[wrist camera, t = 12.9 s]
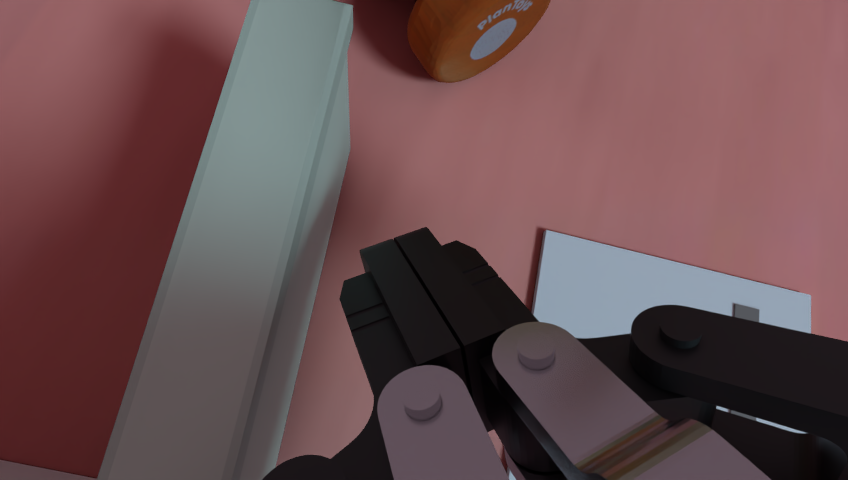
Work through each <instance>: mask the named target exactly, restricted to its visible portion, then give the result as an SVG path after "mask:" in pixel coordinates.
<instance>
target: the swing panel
mask: <svg viewBox="0 0 848 480" xmlns="http://www.w3.org/2000/svg"><path fill="white" fill-rule="evenodd" d="M352 31H353V5H349V4H345V3H341V2H337V1H333V0H251V2H250V5H249V8H248V11H247V15H246V18H245V21H244V24H243V27H242V30H241V33H240V36H239V39H238V43H237V46H236V49H235V52H234V55H233V58H232V61H231V64H230V67H229V70H228V74H227V77H226V80H225V83H224V86H223V89H222V92H221V95H220V98H219V102H218V105H217V108H216V111H215V114H214V117H213V120H212V123H211V126H210V129H209V133H208V136H207V139H206V142H205V145H204V148H203V151H202V154H201V157H200V161H199V164H198V167H197V170H196V173H195V176H194V179H193V182H192V185H191V189H190V192H189V195H188V198H187V201H186V204H185V207H184V210H183V213H182V216H181V220H180V223H179V226H178V229H177V232H176V235H175V238H174V241H173V244H172V248H171V251H170V254H169V257H168V260H167V263H166V266H165V269H164V272H163V275H162V279H161V282H160V285H159V288H158V291H157V294H156V297H155V300H154V303H153V307H152V310H151V313H150V316H149V319H148V322H147V325H146V328H145V331H144V334H143V338H142V341H141V344H140V347H139V350H138V353H137V356H136V359H135V362H134V366H133V369H132V372H131V375H130V378H129V381H128V384H127V387H126V390H125V394H124V397H123V400H122V403H121V406H120V409H119V412H118V415H117V418H116V421H115V425H114V428H113V431H112V434H111V437H110V440H109V443H108V446H107V449H106V453H105V456H104V459H103V462H102V465H101V468H100V471H99V474H98V477H97V480H262V479H263V478H264V477H265V476H266V475H267V474H268V473H269V472H270V471H271V470H273V469H274V468H275V467H276V462H277V458H278V454H279V450H280V446H281V441H282V437H283V433H284V429H285V424H286V420H287V416H288V412H289V407H290V403H291V399H292V395H293V390H294V386H295V382H296V378H297V373H298V369H299V365H300V361H301V356H302V352H303V348H304V344H305V339H306V335H307V331H308V327H309V322H310V318H311V314H312V310H313V305H314V301H315V297H316V293H317V288H318V284H319V280H320V276H321V272H322V267H323V263H324V259H325V255H326V250H327V246H328V242H329V238H330V233H331V229H332V225H333V221H334V216H335V212H336V208H337V204H338V199H339V195H340V191H341V187H342V182H343V178H344V174H345V170H346V165H347V161H348V157H349V153H350V122H349V93H348V64H347V51H348V47H349V43H350V39H351V35H352Z"/></svg>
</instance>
